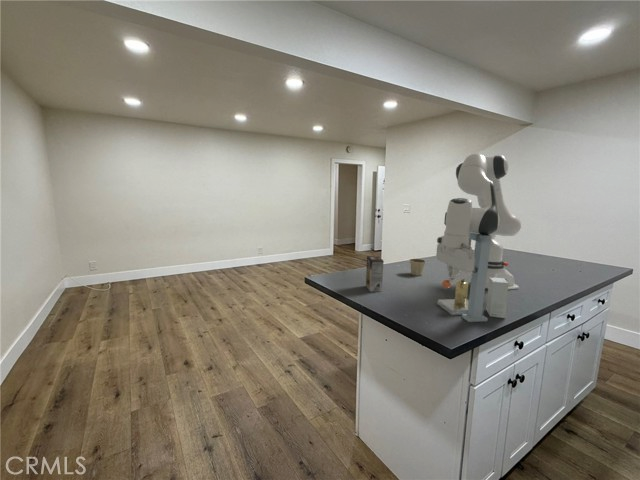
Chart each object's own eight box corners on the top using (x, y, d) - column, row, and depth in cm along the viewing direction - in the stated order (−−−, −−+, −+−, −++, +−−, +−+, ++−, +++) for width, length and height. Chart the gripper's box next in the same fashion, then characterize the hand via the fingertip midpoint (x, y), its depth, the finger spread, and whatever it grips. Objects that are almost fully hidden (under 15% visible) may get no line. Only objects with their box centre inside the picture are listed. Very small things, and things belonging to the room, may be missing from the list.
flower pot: (425, 277, 175) (426, 262, 173) (409, 275, 177) (410, 261, 175) (423, 272, 184) (424, 259, 182) (407, 271, 186) (408, 258, 184)
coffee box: (365, 285, 157) (366, 255, 154) (377, 285, 158) (378, 255, 155) (369, 291, 148) (371, 260, 145) (382, 291, 149) (384, 260, 146)
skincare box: (505, 319, 120) (510, 283, 117) (488, 316, 122) (492, 281, 119) (500, 311, 127) (505, 277, 125) (484, 309, 129) (488, 276, 127)
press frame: (465, 306, 132) (473, 230, 126) (487, 321, 117) (498, 235, 111) (448, 307, 131) (455, 230, 125) (468, 321, 116) (478, 235, 110)
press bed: (466, 303, 136) (466, 298, 135) (483, 314, 124) (484, 309, 124) (437, 303, 134) (437, 299, 134) (452, 315, 122) (452, 310, 122)
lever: (473, 270, 117) (470, 263, 117) (478, 272, 114) (475, 265, 113) (442, 288, 117) (439, 281, 116) (446, 290, 114) (443, 283, 113)
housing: (462, 302, 131) (464, 277, 129) (468, 306, 127) (471, 280, 125) (452, 302, 131) (454, 277, 129) (458, 306, 126) (460, 280, 124)
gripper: (481, 247, 102) (476, 285, 105) (449, 237, 122) (446, 270, 125) (464, 246, 102) (459, 285, 104) (434, 237, 122) (431, 270, 124)
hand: (452, 277), depth 114 cm, fingers closed
